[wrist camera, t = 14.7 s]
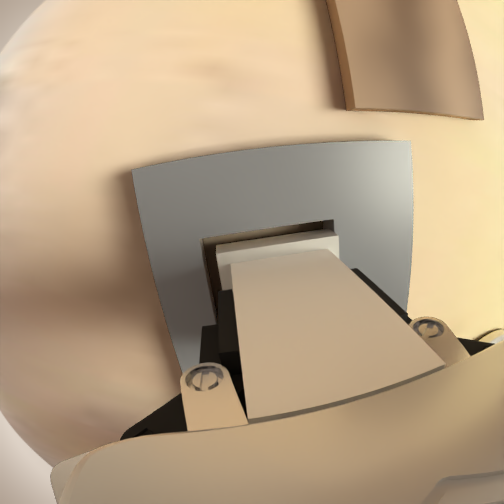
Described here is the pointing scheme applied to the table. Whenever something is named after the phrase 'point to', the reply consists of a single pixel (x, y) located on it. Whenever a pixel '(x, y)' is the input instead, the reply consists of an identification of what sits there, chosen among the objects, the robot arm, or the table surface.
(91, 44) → the table surface
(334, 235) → the plug
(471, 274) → the table surface
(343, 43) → the pad
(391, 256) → the socket block
